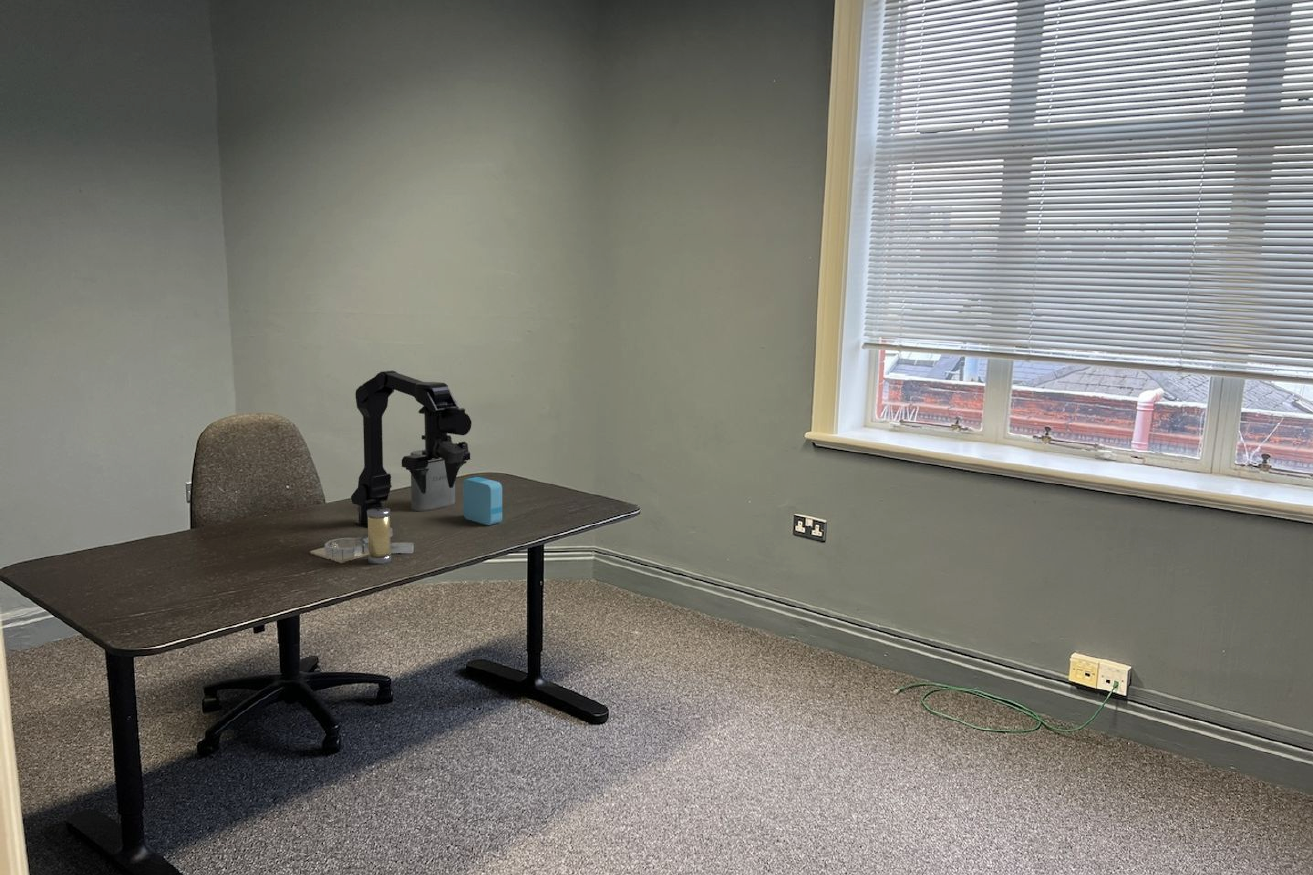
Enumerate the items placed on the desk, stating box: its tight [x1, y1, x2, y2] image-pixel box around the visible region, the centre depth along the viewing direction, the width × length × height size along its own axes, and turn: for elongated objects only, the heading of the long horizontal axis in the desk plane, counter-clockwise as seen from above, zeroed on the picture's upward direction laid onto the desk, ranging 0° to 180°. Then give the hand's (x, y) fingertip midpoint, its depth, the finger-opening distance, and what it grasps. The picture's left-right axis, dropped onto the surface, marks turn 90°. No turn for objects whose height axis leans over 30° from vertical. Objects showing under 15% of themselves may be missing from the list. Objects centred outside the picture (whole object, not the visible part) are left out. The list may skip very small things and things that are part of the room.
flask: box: [410, 449, 456, 512], centre depth 279 cm, size 15×6×20 cm, turn 141°
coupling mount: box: [309, 527, 414, 564], centre depth 238 cm, size 20×23×2 cm
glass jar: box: [367, 506, 392, 565], centre depth 229 cm, size 5×5×13 cm
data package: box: [462, 476, 503, 526], centre depth 266 cm, size 12×4×12 cm, turn 51°
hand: (437, 490), depth 243 cm, fingers open, 9 cm apart
